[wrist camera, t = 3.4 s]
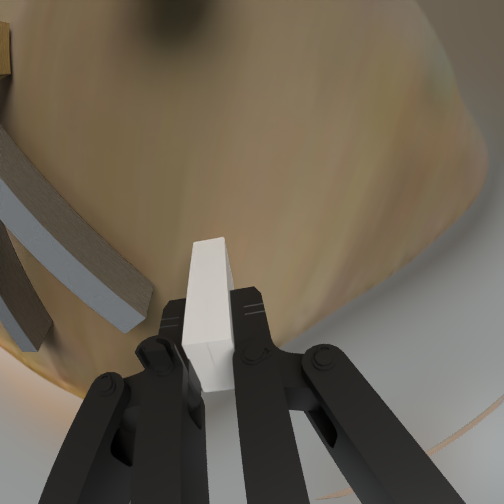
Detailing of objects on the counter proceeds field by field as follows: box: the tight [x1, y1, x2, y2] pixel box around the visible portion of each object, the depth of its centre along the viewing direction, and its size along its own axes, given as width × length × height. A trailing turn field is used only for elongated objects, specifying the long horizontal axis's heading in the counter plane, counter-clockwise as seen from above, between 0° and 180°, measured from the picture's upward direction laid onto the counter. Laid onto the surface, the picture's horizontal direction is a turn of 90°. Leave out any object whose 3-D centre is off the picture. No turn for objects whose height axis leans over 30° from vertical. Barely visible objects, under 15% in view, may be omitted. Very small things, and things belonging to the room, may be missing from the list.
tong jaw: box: [0, 125, 154, 334], centre depth 12 cm, size 15×2×3 cm, turn 37°
